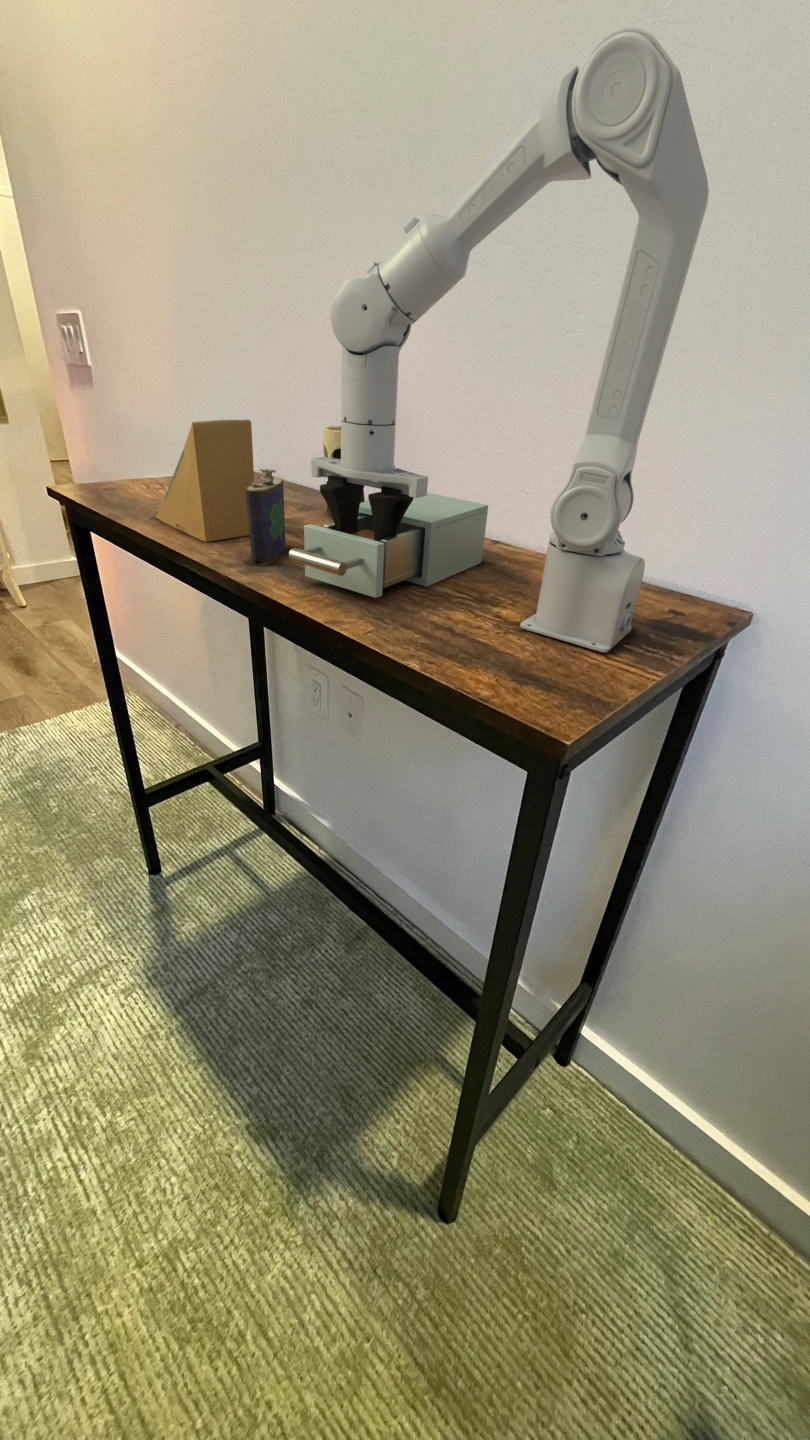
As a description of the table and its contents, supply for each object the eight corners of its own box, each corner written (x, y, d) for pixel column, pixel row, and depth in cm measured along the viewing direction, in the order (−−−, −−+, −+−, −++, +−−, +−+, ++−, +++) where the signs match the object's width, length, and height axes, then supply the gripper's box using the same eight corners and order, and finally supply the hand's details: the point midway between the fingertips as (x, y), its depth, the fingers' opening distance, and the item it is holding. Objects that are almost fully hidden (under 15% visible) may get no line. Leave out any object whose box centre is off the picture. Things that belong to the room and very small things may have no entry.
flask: (271, 544, 87) (267, 461, 81) (291, 546, 87) (289, 463, 81) (247, 564, 79) (241, 473, 73) (269, 566, 79) (265, 476, 73)
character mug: (307, 511, 104) (306, 425, 97) (340, 506, 109) (340, 423, 102) (352, 526, 98) (353, 434, 91) (384, 519, 102) (388, 432, 96)
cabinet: (426, 587, 76) (431, 522, 72) (351, 565, 81) (352, 504, 77) (481, 562, 85) (488, 504, 82) (411, 545, 91) (414, 489, 87)
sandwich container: (206, 511, 100) (196, 406, 93) (259, 533, 91) (252, 419, 83) (154, 517, 95) (138, 407, 87) (204, 542, 86) (191, 421, 78)
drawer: (350, 608, 66) (351, 553, 63) (278, 585, 71) (276, 532, 68) (437, 572, 78) (441, 524, 75) (370, 554, 83) (371, 508, 80)
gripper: (447, 428, 65) (436, 557, 72) (339, 413, 72) (339, 532, 79) (409, 432, 60) (401, 571, 67) (297, 415, 67) (300, 543, 74)
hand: (365, 551), depth 73 cm, fingers closed on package, 4 cm apart
